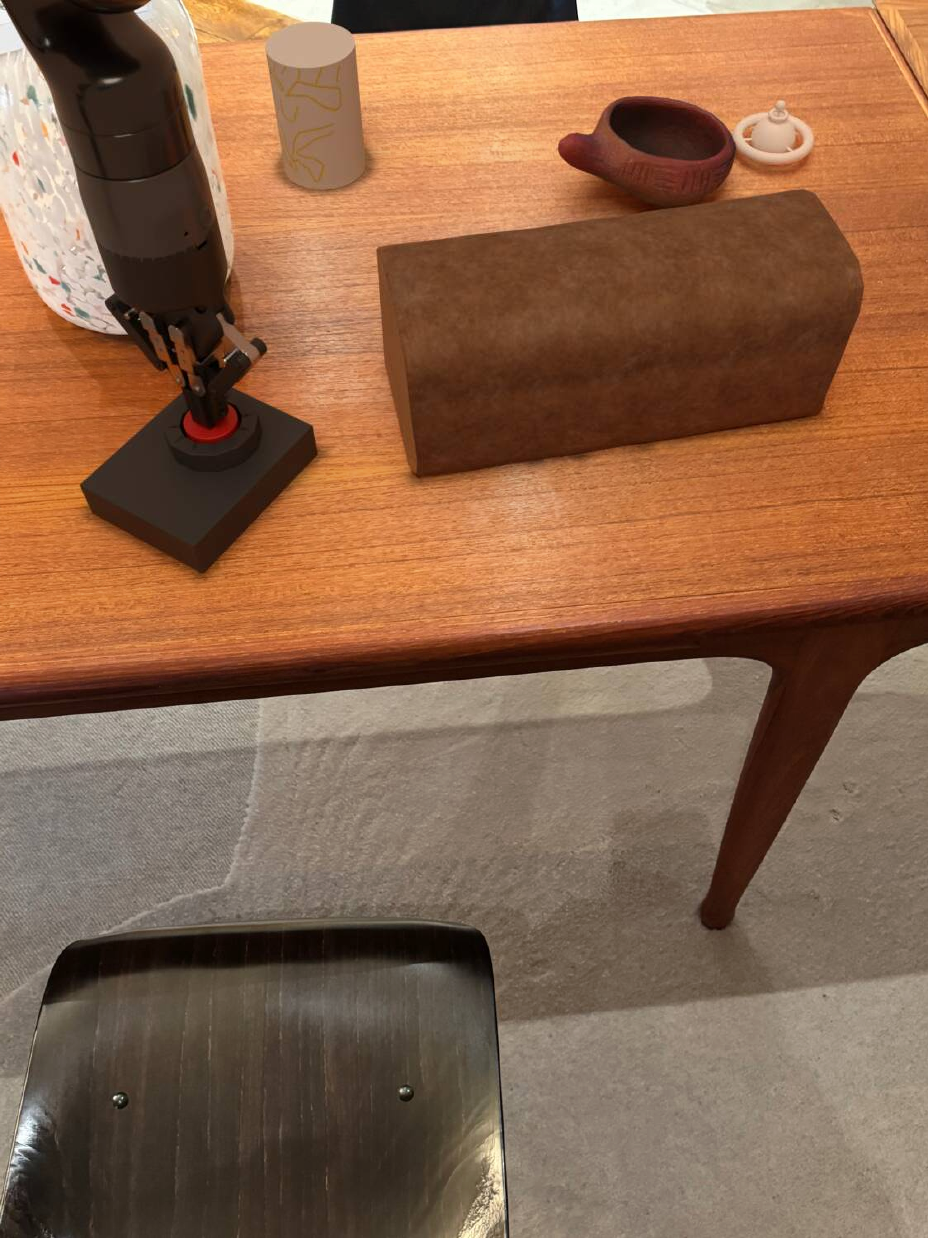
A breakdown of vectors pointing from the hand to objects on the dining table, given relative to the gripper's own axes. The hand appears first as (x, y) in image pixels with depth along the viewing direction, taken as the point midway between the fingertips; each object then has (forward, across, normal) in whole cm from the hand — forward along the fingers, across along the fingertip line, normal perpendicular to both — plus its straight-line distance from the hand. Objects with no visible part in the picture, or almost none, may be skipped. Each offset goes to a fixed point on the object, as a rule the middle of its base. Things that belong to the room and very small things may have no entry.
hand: (211, 419), depth 79 cm
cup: (+5, -18, +37) cm, 41 cm away
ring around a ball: (+6, +19, +62) cm, 65 cm away
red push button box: (+5, 0, -2) cm, 6 cm away
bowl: (+6, +12, +49) cm, 51 cm away
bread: (+6, +21, +23) cm, 32 cm away
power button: (+2, 0, 0) cm, 2 cm away
